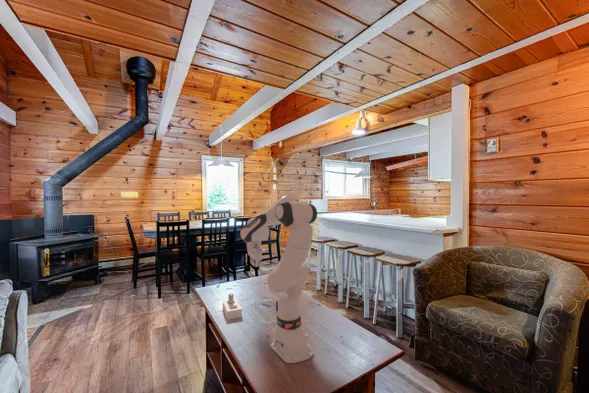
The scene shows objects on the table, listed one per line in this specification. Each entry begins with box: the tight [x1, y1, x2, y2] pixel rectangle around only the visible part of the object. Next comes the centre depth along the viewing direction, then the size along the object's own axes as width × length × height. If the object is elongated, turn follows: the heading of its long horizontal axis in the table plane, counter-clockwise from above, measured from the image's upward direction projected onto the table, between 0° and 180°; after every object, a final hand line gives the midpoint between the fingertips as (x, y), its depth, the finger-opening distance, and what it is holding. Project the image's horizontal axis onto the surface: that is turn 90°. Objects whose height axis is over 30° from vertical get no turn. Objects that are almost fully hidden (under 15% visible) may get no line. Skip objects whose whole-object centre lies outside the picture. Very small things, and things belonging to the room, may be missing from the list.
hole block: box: [222, 298, 243, 321], centre depth 161 cm, size 16×9×5 cm, turn 24°
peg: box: [227, 293, 234, 304], centre depth 164 cm, size 3×3×10 cm
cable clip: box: [275, 300, 278, 312], centre depth 169 cm, size 12×4×6 cm, turn 144°
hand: (254, 264), depth 164 cm, fingers open, 8 cm apart
